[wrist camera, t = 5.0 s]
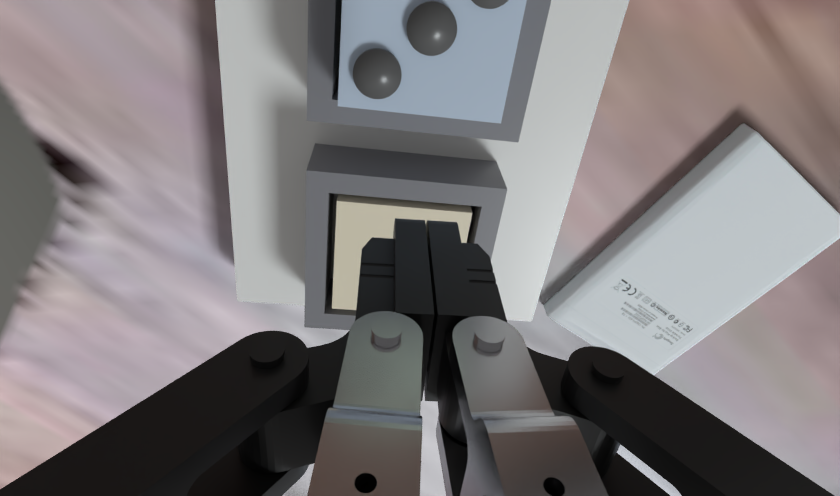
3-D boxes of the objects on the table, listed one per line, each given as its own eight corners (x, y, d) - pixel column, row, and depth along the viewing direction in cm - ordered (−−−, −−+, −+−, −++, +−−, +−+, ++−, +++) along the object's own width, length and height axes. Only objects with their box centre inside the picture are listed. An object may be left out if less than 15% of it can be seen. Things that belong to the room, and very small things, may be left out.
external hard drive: (833, 213, 27) (639, 363, 32) (736, 117, 24) (539, 299, 29) (857, 230, 25) (650, 384, 30) (758, 131, 22) (547, 319, 27)
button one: (464, 183, 22) (472, 215, 20) (446, 281, 25) (452, 319, 23) (342, 171, 22) (336, 203, 19) (337, 273, 24) (331, 311, 22)
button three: (520, -67, 16) (541, -62, 14) (488, 98, 19) (502, 126, 16) (352, -91, 16) (345, -90, 13) (344, 82, 18) (337, 108, 16)
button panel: (762, -549, 14) (905, -723, 10) (523, 296, 28) (543, 358, 24) (189, -691, 12) (98, -956, 8) (247, 276, 27) (222, 337, 23)
